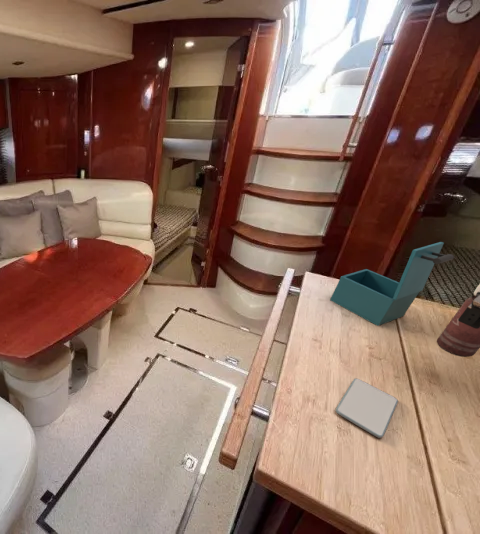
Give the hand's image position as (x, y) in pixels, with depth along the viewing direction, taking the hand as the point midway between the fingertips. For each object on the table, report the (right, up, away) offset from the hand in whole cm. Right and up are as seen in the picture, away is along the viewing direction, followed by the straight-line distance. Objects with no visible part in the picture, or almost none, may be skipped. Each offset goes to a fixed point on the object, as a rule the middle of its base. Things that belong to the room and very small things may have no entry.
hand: (477, 319), depth 68 cm
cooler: (+6, -2, +33) cm, 34 cm away
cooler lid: (+7, +11, +19) cm, 23 cm away
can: (0, -8, +5) cm, 9 cm away
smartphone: (-23, -21, +2) cm, 31 cm away
